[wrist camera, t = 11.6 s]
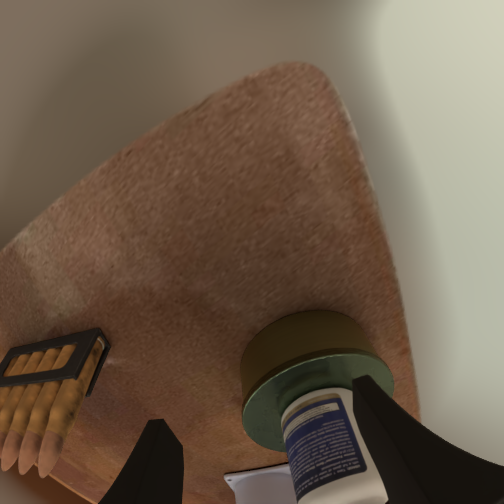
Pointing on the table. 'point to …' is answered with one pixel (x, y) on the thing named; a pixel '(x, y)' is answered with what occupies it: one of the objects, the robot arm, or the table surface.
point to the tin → (302, 368)
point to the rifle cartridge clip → (46, 396)
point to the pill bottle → (329, 451)
